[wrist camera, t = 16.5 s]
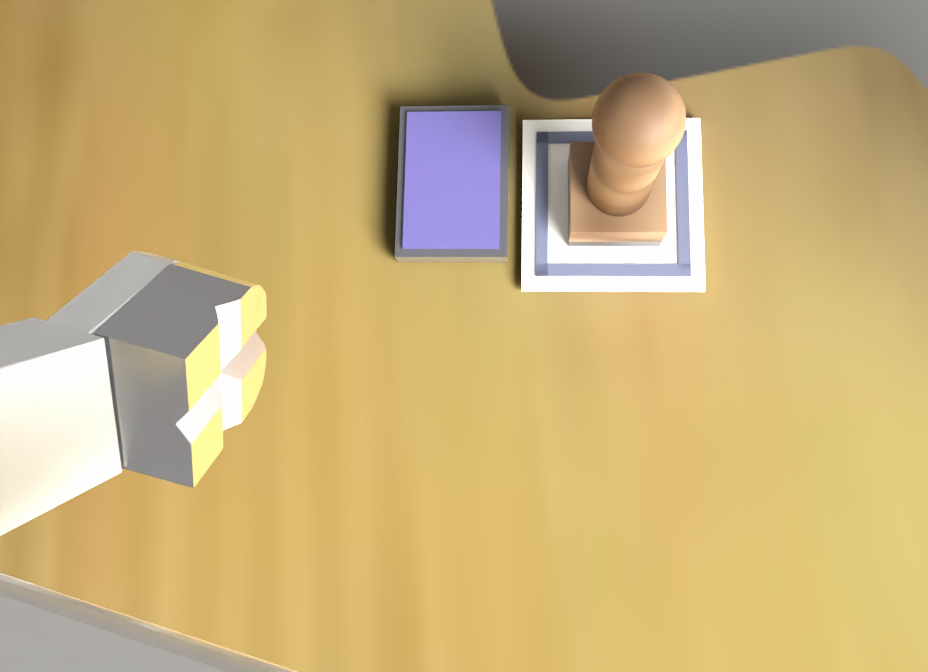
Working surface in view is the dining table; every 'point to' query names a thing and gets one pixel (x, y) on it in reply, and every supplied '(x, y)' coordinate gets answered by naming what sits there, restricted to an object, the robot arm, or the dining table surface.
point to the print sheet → (607, 266)
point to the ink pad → (453, 184)
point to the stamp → (625, 164)
